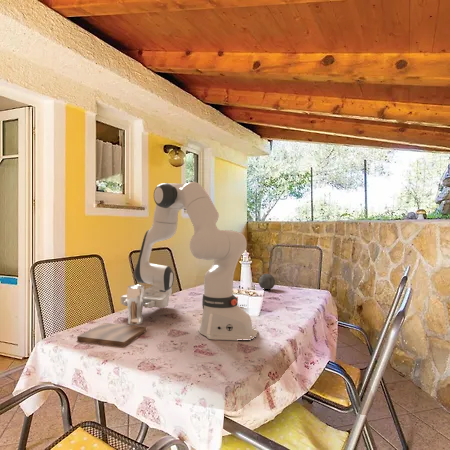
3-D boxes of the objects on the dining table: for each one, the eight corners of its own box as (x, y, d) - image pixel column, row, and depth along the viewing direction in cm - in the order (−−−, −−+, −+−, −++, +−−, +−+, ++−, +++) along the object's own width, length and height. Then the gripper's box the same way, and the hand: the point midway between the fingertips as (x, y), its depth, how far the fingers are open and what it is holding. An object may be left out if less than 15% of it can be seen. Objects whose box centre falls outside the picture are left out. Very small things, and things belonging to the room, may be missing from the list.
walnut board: (146, 331, 128) (146, 327, 128) (123, 346, 112) (123, 342, 112) (104, 326, 132) (104, 322, 132) (77, 340, 117) (77, 336, 116)
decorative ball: (275, 288, 213) (275, 273, 213) (274, 292, 203) (274, 275, 203) (259, 287, 215) (259, 272, 214) (257, 291, 205) (258, 274, 205)
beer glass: (139, 326, 134) (139, 288, 133) (123, 324, 135) (123, 287, 135) (146, 321, 140) (147, 285, 140) (131, 319, 142) (132, 284, 142)
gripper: (130, 288, 153) (113, 295, 140) (171, 291, 148) (158, 298, 135) (129, 302, 153) (112, 310, 140) (171, 306, 148) (158, 314, 135)
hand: (135, 304), depth 137 cm, fingers open, 8 cm apart
